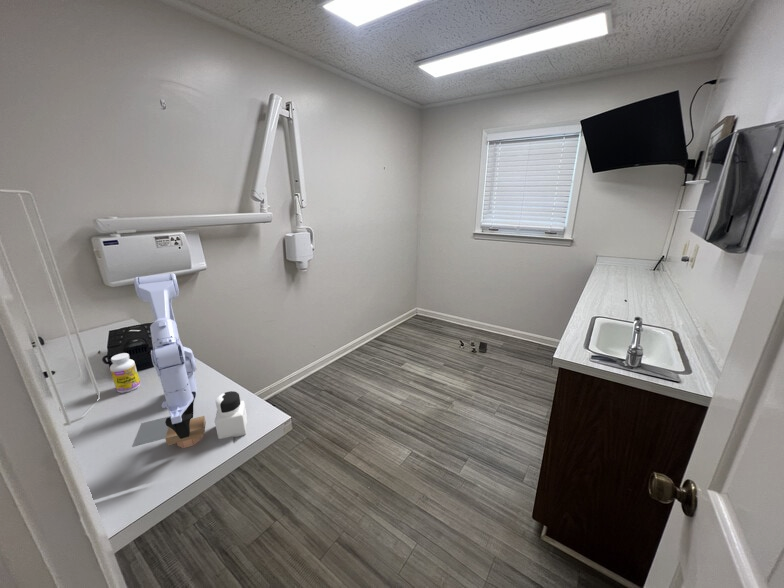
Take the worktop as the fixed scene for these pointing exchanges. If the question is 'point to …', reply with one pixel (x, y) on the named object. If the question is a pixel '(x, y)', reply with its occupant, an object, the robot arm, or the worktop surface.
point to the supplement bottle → (124, 373)
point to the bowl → (189, 442)
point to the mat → (151, 431)
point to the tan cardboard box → (195, 431)
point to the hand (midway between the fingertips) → (186, 427)
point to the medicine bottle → (230, 415)
